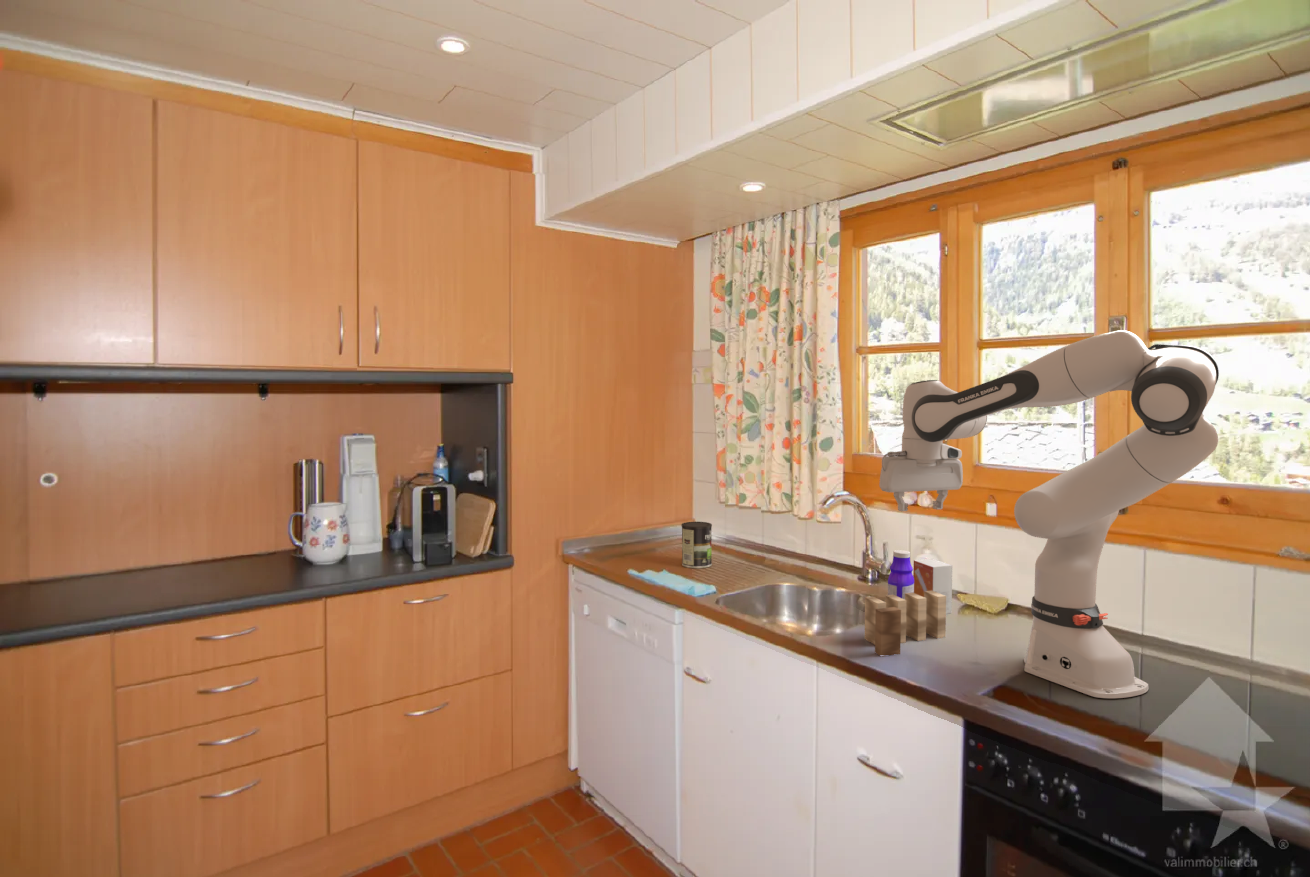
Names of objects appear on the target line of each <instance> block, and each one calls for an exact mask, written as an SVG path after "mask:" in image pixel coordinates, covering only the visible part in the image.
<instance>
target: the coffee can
mask: <svg viewBox="0 0 1310 877" xmlns="http://www.w3.org/2000/svg"><path fill="white" fill-rule="evenodd" d="M712 526H713V524H712V523H710V522H707V521H686V522H682V523H681V553H682V554H681V559H682V560H681V565H682V567H683V568H686V569H687V568H688V569H707V568H710V567H712V565H713V563H712V560H713V559H712V553H713V552H712V540H713V539H712Z"/></svg>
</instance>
